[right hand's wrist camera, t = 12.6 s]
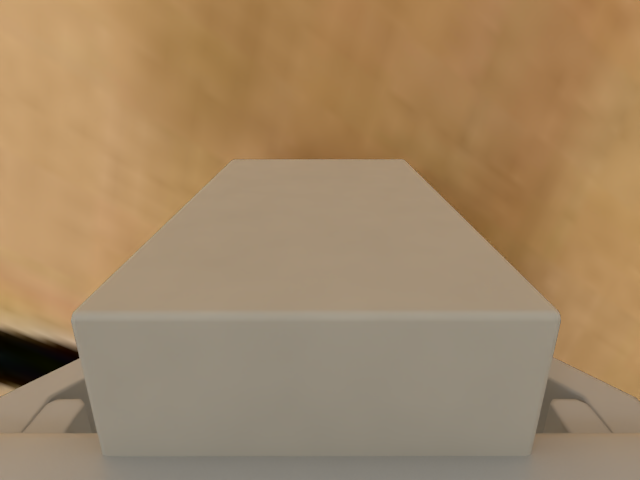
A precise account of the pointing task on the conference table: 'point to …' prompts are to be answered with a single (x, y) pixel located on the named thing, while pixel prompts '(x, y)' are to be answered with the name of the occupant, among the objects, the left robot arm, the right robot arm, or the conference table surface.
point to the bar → (316, 324)
